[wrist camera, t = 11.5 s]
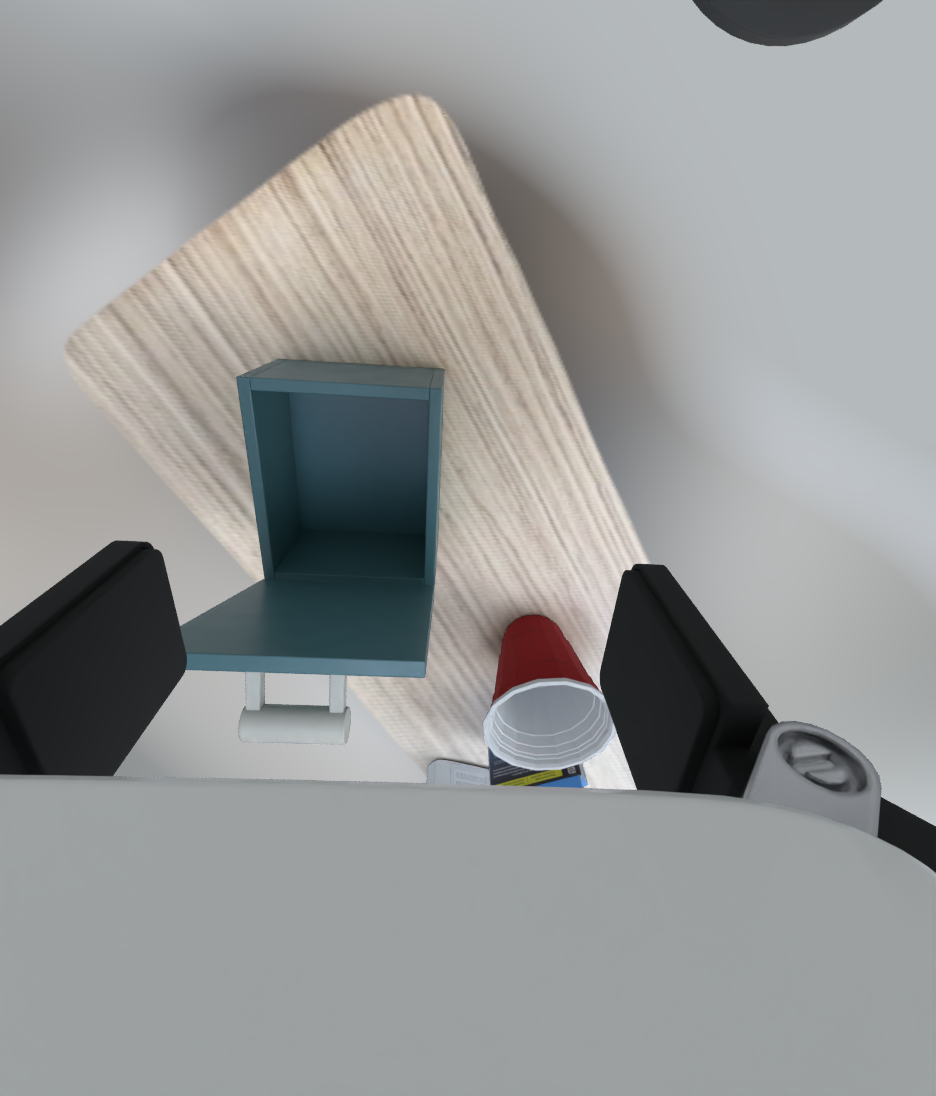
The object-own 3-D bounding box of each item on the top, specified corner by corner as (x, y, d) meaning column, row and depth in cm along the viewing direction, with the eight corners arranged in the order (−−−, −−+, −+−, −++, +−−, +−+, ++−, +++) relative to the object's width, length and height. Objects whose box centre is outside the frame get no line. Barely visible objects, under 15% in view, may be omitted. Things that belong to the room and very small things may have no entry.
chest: (277, 358, 39) (235, 376, 31) (444, 368, 39) (441, 388, 32) (295, 532, 45) (264, 581, 38) (438, 539, 46) (434, 588, 38)
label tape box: (496, 743, 58) (506, 850, 47) (484, 718, 56) (491, 823, 45) (571, 721, 56) (599, 826, 46) (562, 696, 55) (588, 798, 44)
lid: (135, 651, 22) (139, 762, 23) (425, 661, 23) (421, 769, 24) (262, 579, 37) (262, 647, 38) (434, 586, 38) (431, 653, 39)
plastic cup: (469, 675, 53) (472, 773, 43) (486, 587, 48) (495, 674, 38) (571, 685, 54) (599, 784, 43) (597, 600, 49) (636, 688, 39)
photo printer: (421, 778, 60) (414, 888, 49) (432, 753, 58) (426, 862, 47) (504, 794, 62) (514, 905, 51) (516, 771, 60) (529, 880, 49)
